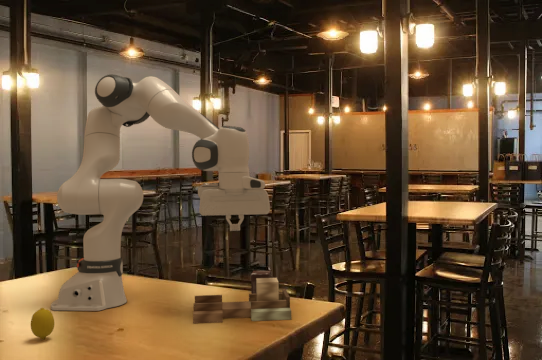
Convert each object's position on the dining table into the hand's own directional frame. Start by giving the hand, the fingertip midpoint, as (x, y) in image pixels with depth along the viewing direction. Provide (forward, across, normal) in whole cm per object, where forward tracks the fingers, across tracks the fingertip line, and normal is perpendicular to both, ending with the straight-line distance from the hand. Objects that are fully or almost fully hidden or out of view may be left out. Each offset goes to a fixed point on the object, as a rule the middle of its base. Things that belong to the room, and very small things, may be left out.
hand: (235, 230), depth 164 cm
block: (+22, +9, 0) cm, 23 cm away
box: (+24, +9, +23) cm, 35 cm away
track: (+24, +1, 0) cm, 24 cm away
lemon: (+24, -49, -17) cm, 57 cm away
